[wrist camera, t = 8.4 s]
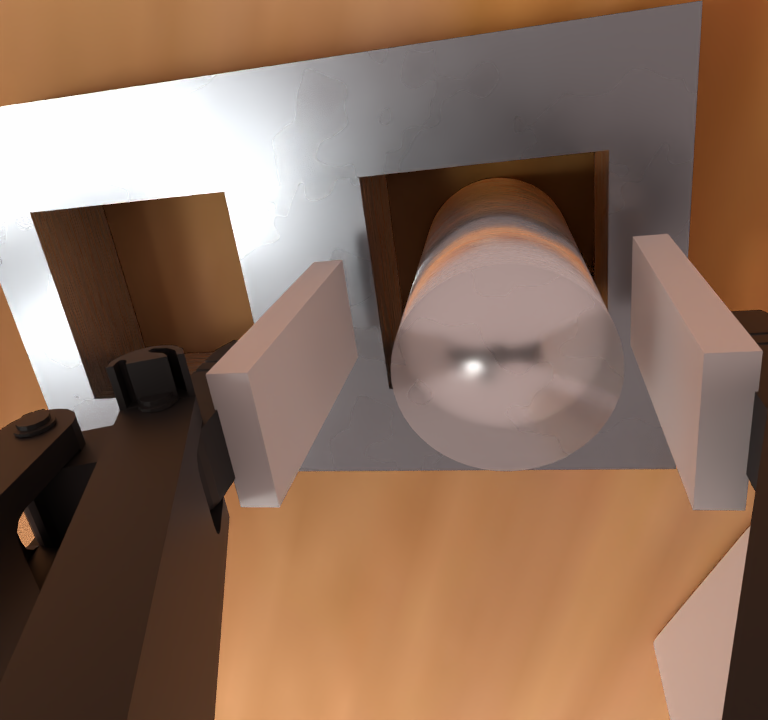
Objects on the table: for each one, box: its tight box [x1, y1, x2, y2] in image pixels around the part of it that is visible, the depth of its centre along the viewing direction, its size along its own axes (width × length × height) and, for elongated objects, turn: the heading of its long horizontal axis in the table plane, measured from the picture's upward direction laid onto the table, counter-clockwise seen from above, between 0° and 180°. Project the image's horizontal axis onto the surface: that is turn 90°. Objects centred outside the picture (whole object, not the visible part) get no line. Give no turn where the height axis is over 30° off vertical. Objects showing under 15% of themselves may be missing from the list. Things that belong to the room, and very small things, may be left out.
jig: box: [0, 1, 702, 471], centre depth 20 cm, size 20×12×4 cm, turn 98°
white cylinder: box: [391, 178, 624, 471], centre depth 17 cm, size 4×4×9 cm
